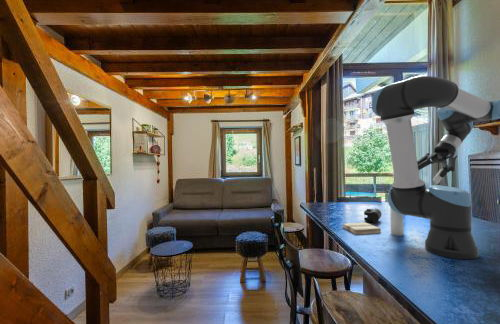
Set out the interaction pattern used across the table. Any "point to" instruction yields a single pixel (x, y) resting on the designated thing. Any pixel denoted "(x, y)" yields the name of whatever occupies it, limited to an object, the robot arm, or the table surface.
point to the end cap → (372, 215)
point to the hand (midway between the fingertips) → (421, 180)
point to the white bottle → (396, 223)
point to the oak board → (361, 228)
